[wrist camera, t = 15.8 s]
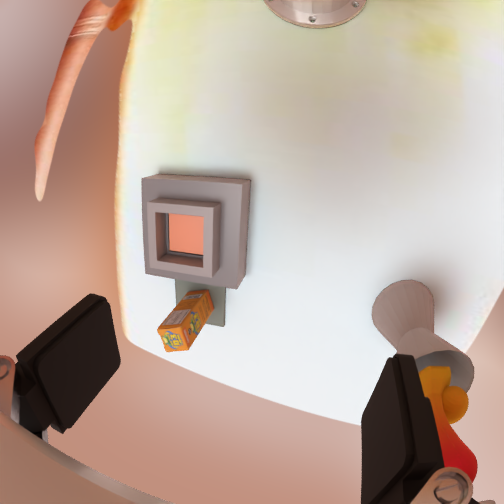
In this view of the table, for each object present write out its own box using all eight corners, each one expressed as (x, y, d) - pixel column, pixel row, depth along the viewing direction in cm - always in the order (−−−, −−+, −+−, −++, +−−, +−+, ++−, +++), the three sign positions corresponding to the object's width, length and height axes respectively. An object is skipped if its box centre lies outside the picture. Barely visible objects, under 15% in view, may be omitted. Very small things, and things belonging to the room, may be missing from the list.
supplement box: (217, 309, 42) (189, 353, 33) (194, 311, 43) (163, 353, 34) (210, 287, 41) (179, 327, 32) (187, 290, 42) (153, 329, 33)
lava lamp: (363, 336, 40) (370, 614, 7) (378, 274, 37) (443, 594, 4) (423, 341, 38) (481, 588, 6) (443, 282, 35) (566, 540, 3)
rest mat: (176, 271, 42) (174, 273, 42) (225, 279, 41) (224, 281, 41) (178, 315, 45) (177, 317, 44) (224, 325, 44) (223, 326, 43)
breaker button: (179, 207, 38) (168, 213, 35) (214, 211, 37) (205, 217, 34) (180, 242, 39) (169, 250, 36) (213, 246, 38) (204, 255, 36)
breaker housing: (157, 174, 38) (130, 181, 32) (250, 179, 36) (235, 187, 30) (159, 262, 42) (135, 281, 37) (245, 275, 40) (231, 299, 34)
